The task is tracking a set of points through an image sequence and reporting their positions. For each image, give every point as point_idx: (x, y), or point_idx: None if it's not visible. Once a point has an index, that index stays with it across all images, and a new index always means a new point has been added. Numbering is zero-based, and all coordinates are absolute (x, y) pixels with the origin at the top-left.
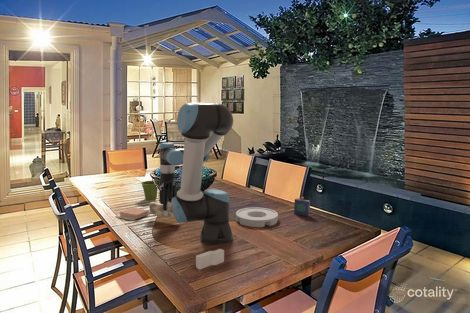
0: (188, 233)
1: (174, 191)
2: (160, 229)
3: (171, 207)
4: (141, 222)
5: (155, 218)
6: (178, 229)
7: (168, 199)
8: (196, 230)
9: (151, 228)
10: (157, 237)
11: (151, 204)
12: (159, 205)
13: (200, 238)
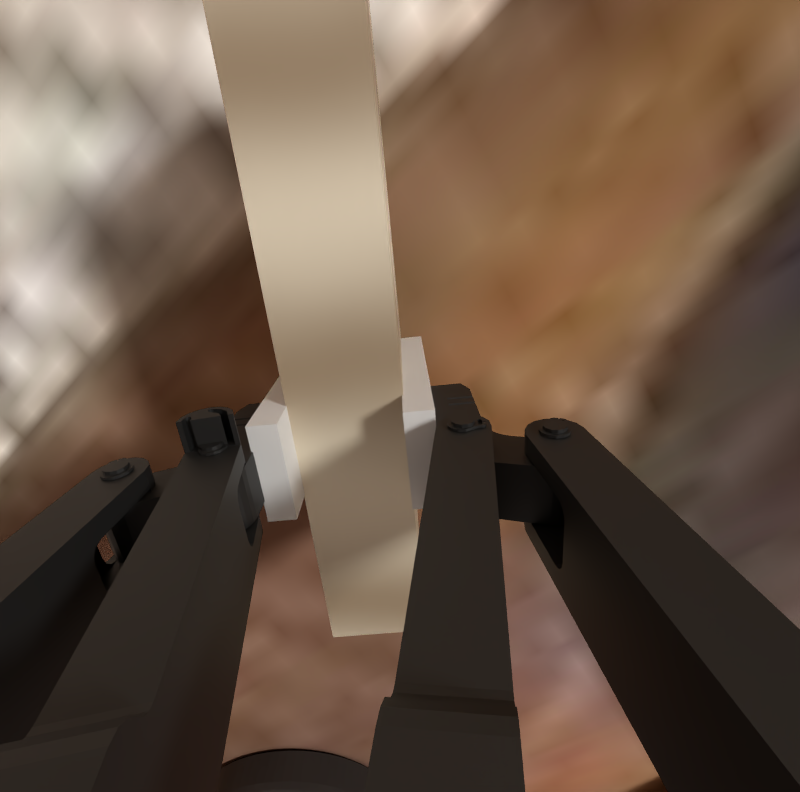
0: (251, 662)
1: (637, 723)
2: (148, 432)
3: (317, 543)
4: (133, 30)
5: (385, 86)
6: (266, 559)
7: (433, 447)
8: (341, 671)
9: (96, 333)
10: (2, 539)
11: (212, 3)
12: (263, 280)
13: (222, 768)
